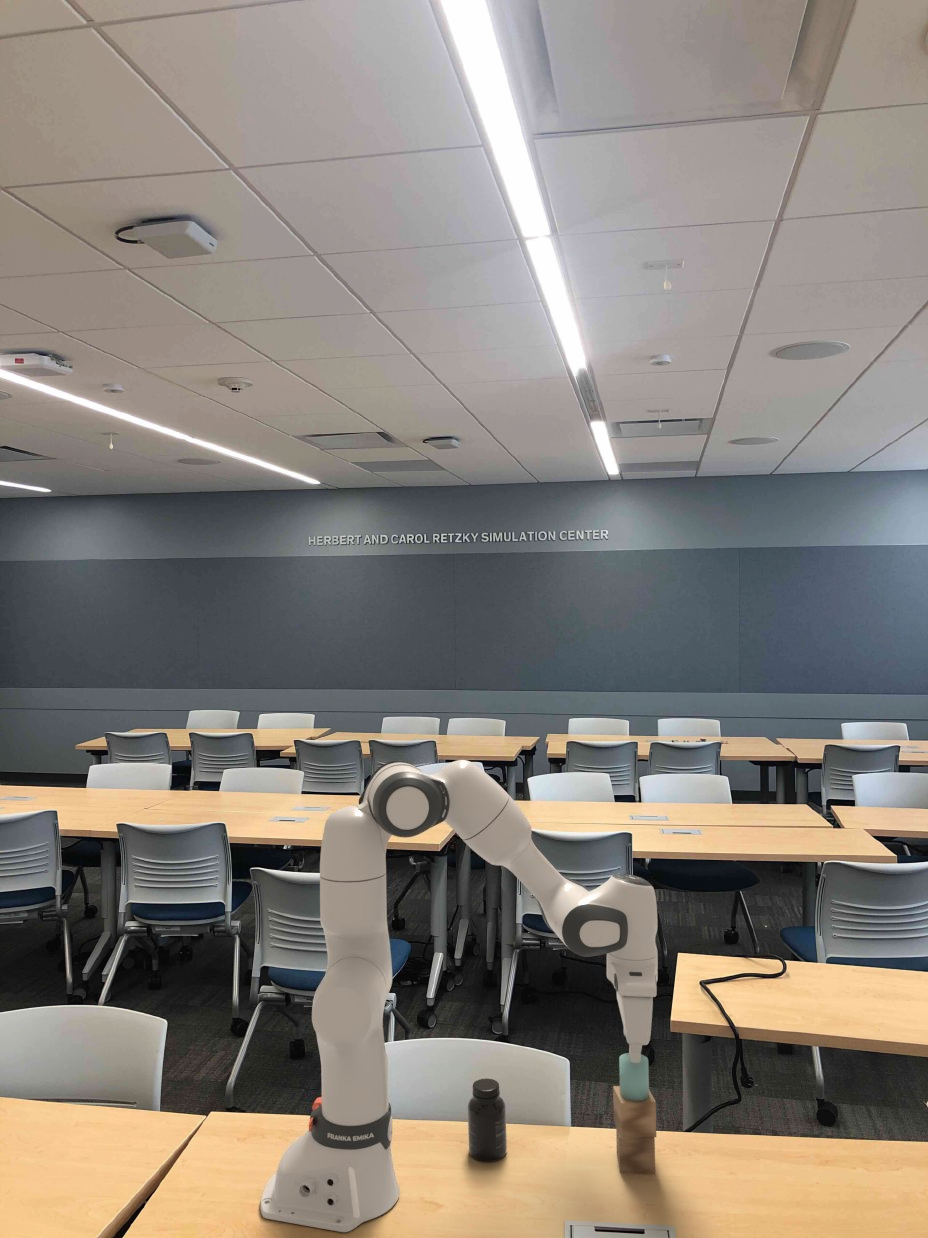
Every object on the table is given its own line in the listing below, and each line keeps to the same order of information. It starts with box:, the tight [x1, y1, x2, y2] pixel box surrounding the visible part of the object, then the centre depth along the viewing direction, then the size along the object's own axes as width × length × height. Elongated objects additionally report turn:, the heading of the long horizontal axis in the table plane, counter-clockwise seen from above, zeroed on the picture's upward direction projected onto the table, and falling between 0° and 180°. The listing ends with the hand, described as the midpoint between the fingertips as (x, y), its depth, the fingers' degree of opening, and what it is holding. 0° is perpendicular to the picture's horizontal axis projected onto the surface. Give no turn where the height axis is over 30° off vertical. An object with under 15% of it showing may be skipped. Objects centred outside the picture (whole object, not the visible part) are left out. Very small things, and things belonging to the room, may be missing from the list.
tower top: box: [612, 1085, 657, 1139], centre depth 156 cm, size 6×6×6 cm
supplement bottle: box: [467, 1078, 508, 1163], centre depth 159 cm, size 7×7×12 cm
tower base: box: [615, 1126, 656, 1175], centre depth 155 cm, size 6×6×6 cm
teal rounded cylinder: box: [618, 1052, 650, 1101], centre depth 156 cm, size 5×5×6 cm
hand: (631, 1048), depth 156 cm, fingers open, 8 cm apart
